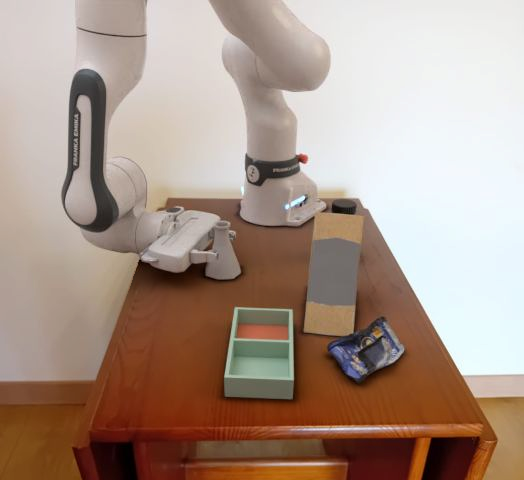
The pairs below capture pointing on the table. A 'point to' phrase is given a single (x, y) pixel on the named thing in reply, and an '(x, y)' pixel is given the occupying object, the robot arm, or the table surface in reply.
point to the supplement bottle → (344, 206)
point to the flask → (223, 254)
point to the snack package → (366, 350)
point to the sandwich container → (333, 274)
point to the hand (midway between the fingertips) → (226, 246)
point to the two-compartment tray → (260, 354)
